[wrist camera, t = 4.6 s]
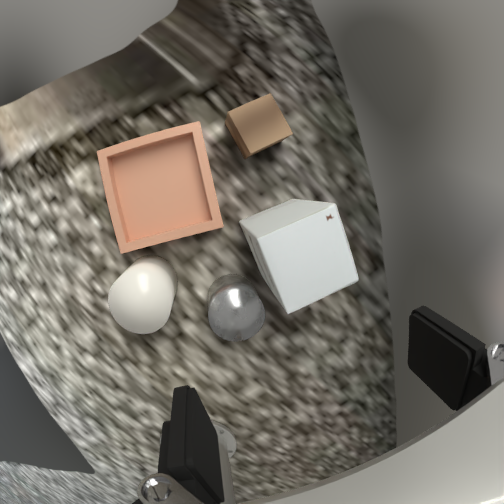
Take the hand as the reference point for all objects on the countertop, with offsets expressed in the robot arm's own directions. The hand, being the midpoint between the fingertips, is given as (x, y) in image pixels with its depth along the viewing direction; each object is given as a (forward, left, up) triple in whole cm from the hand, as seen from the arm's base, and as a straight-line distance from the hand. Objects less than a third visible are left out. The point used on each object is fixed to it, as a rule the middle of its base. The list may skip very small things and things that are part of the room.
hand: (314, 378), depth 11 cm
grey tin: (-5, +2, -26) cm, 26 cm away
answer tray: (+10, +7, -26) cm, 28 cm away
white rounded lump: (-1, +11, -26) cm, 28 cm away
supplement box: (+1, -5, -26) cm, 26 cm away
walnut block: (+14, -5, -26) cm, 29 cm away
